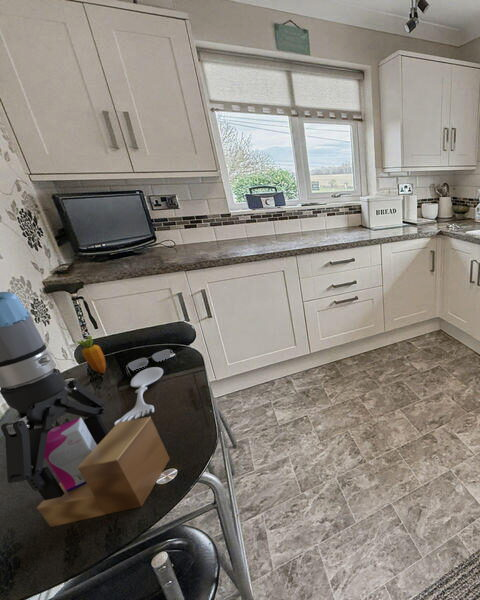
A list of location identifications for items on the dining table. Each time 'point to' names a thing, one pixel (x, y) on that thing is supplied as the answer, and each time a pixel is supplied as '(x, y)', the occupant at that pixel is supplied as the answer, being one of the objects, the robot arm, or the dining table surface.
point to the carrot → (93, 355)
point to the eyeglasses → (143, 361)
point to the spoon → (141, 382)
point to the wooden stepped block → (113, 474)
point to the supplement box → (69, 451)
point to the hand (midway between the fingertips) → (81, 467)
